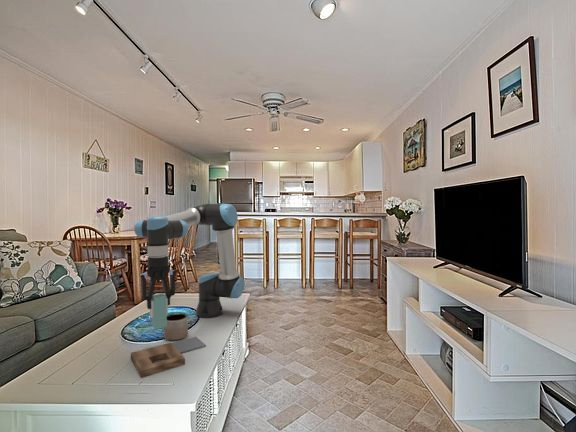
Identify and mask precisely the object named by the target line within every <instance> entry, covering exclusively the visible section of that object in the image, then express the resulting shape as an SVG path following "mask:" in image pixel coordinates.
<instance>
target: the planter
mask: <svg viewBox="0 0 576 432" xmlns="http://www.w3.org/2000/svg"><path fill="white" fill-rule="evenodd" d="M188 317H189V315H188V314H187V313H182V312H181V313H178V312H176V313H171V314H168V315H167V326H166V327H163V338H164V339H165V340H166V341H169V342H176V341H180V340H184V339H186V338H187V337H188V335H189V318H188Z"/></svg>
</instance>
